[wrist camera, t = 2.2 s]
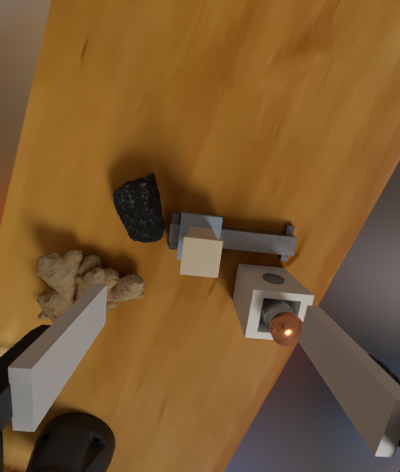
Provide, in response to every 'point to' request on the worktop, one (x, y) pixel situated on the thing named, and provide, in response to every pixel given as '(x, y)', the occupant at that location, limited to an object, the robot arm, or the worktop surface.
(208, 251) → the carriage
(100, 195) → the worktop surface
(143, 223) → the rock
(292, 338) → the copper knob
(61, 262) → the ginger root
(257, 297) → the white square housing
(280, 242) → the rail
